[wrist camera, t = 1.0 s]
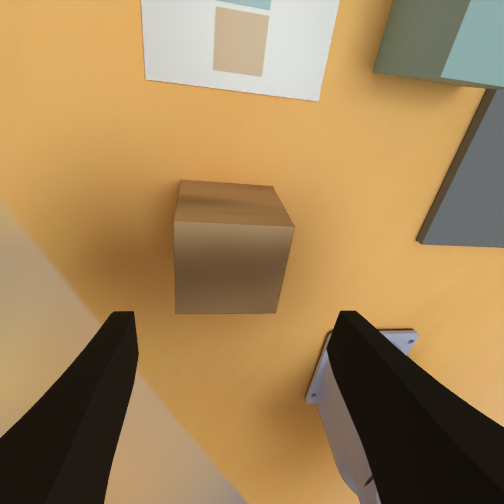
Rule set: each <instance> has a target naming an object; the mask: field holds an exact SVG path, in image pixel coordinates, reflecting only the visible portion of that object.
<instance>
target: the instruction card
mask: <svg viewBox="0 0 504 504" xmlns="http://www.w3.org/2000/svg"><path fill="white" fill-rule="evenodd" d="M339 1H340V0H141V7H142V25H143V42H144V60H145V77H146V79H147V80H155V81H163V82H171V83H178V84H186V85H194V86H202V87H210V88H217V89H225V90H233V91H241V92H248V93H256V94H264V95H272V96H280V97H287V98H295V99H303V100H311V101H318V99H319V95H320V90H321V85H322V81H323V76H324V71H325V67H326V62H327V57H328V53H329V48H330V43H331V39H332V34H333V29H334V25H335V20H336V15H337V11H338V6H339Z"/></svg>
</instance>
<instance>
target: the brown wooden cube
mask: <svg viewBox="0 0 504 504" xmlns="http://www.w3.org/2000/svg"><path fill="white" fill-rule="evenodd" d="M294 229H295V226H294V224H293V223H292V221H291V219H290V217H289V215H288V214H287V212H286V210H285V208H284V206H283V204H282V203H281V201H280V199H279V197H278V195H277V194H276V192H275V190H274V188H273V186H262V185H248V184H234V183H220V182H206V181H192V180H181V185H180V190H179V196H178V201H177V206H176V212H175V217H174V261H175V314H263V313H276V310H277V305H278V301H279V296H280V292H281V287H282V283H283V278H284V274H285V269H286V265H287V260H288V256H289V251H290V247H291V242H292V238H293V233H294Z"/></svg>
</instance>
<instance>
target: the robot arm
mask: <svg viewBox="0 0 504 504" xmlns="http://www.w3.org/2000/svg"><path fill="white" fill-rule="evenodd" d="M418 336H419V335H418V333H417V332H416V331H415V330H398V331H378V330H377V329H376V328H375V327H374V326H373V325H372V324H370V323H369V322H368V321H367V320H366V319H365V318H364V317H363V316H361V315H360V314H359V313H358V312H357V311H340V313H339V315H338V318H337V321H336V323H335V326H334V329H333V331H332V333H330V334H329V336H328V338H327V341H326V343H325V346H324V349H323V351H322V354H321V357H320V360H319V362H318V365H317V368H316V371H315V373H314V376H313V379H312V381H311V384H310V387H309V390H308V392H307V395H306V398H305V400H306V403H308V404H316V405H317V408H318V411H319V414H320V417H321V420H322V423H323V426H324V429H325V432H326V435H327V438H328V441H329V444H330V447H331V451H332V454H333V457H334V460H335V463H336V466H337V468H338V471H339V473H340V475H341V477H342V478H343V480H344V481H345V483H346V484H347V485H348V487H349V488H350V489H351V490H352V491H353V492H354V493H355V494H356V495H357V496H358V498H359V501H360V504H504V427H503V426H501V425H499V424H498V423H496V422H495V421H493V420H492V419H490V418H488V417H487V416H486V415H484V414H483V413H481V412H480V411H478V410H477V409H475V408H474V407H472V406H471V405H469V404H468V403H467V402H465V401H464V400H462V399H461V398H460V397H458V396H457V395H456V394H454V393H453V392H451V391H450V390H449V389H447V388H446V387H445V386H443V385H442V384H441V383H439V382H438V381H437V380H436V379H434V378H433V377H432V376H431V375H429V374H428V373H427V372H426V371H424V370H423V369H422V368H421V367H419V366H418V365H417V364H416V363H415V362H414V361H412V360H411V359H410V358H409V357H408V356H407V355H408V353H409V352H410V350H411V348H412V347H413V345H414V343H415V342H416V340H417V338H418ZM138 355H139V352H138V343H137V334H136V325H135V316H134V311H114V312H113V313H111V314H110V316H109V317H108V318H107V320H106V321H105V323H104V324H103V325H102V327H101V328H100V329H99V331H98V332H97V333H96V335H95V336H94V337H93V338H92V340H91V341H90V342H89V343H88V345H87V346H86V347H85V349H84V350H83V351H82V352H81V353H80V355H79V356H78V357H77V358H76V359H75V361H74V362H73V363H72V364H71V365H70V366H69V367H68V369H67V370H66V371H65V372H64V373H63V374H62V375H61V377H60V378H59V379H58V380H57V381H56V382H55V383H54V384H53V385H52V386H51V387H50V388H49V390H48V391H47V392H46V393H45V394H44V395H43V396H42V397H41V398H40V399H39V400H38V402H36V403H35V404H34V406H33V407H32V408H31V409H30V410H29V411H28V412H27V413H26V414H25V415H24V416H23V417H22V418H21V419H20V420H19V421H18V422H16V423H15V424H14V425H13V426H12V427H11V428H10V429H9V430H8V431H7V432H6V433H5V434H4V435H3V436H2V437H1V438H0V504H104V500H105V495H106V489H107V484H108V478H109V474H110V470H111V466H112V461H113V458H114V454H115V450H116V447H117V443H118V440H119V435H120V432H121V429H122V425H123V422H124V418H125V414H126V411H127V407H128V404H129V400H130V396H131V393H132V389H133V385H134V380H135V374H136V368H137V361H138Z"/></svg>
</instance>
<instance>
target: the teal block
mask: <svg viewBox="0 0 504 504" xmlns="http://www.w3.org/2000/svg"><path fill="white" fill-rule="evenodd" d="M373 73H379V74H385V75H392V76H398V77H405V78H411V79H418V80H424V81H431V82H437V83H444V84H450V85H457V86H465V87H475V88H485V89H496V90H504V0H394V1H393V4H392V7H391V11H390V14H389V18H388V21H387V25H386V28H385V32H384V35H383V39H382V42H381V46H380V49H379V53H378V56H377V59H376V63H375V66H374V70H373Z"/></svg>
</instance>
